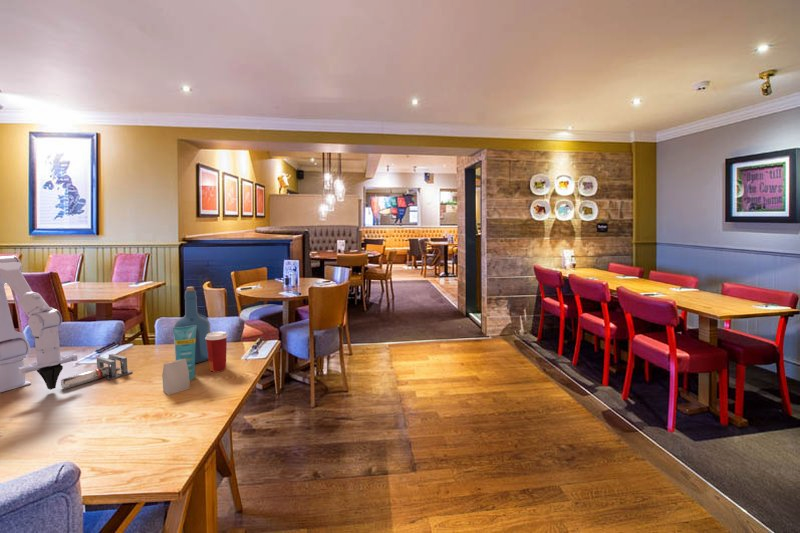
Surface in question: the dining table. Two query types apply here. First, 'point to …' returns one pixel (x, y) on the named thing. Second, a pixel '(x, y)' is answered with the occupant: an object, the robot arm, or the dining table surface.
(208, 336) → the paper cup
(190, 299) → the wine bottle
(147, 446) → the dining table surface
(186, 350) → the tube
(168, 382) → the tea bag
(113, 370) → the grey holder stand
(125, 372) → the collar
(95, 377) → the silver cylinder
